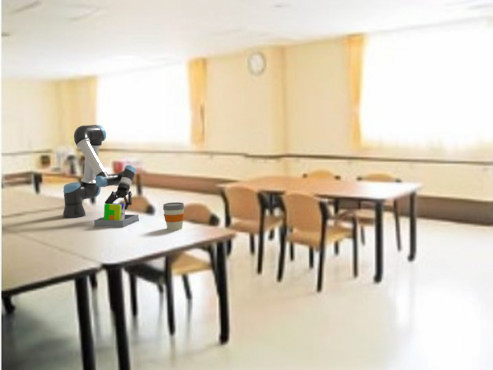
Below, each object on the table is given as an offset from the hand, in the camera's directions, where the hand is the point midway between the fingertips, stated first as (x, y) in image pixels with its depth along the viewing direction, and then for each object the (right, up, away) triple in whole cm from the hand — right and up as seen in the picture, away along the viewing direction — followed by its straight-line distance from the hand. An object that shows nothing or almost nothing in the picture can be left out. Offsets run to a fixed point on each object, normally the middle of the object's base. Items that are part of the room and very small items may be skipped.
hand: (114, 213), depth 338 cm
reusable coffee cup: (+41, -8, -19) cm, 46 cm away
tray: (+1, -7, +4) cm, 8 cm away
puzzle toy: (0, -4, 0) cm, 4 cm away
